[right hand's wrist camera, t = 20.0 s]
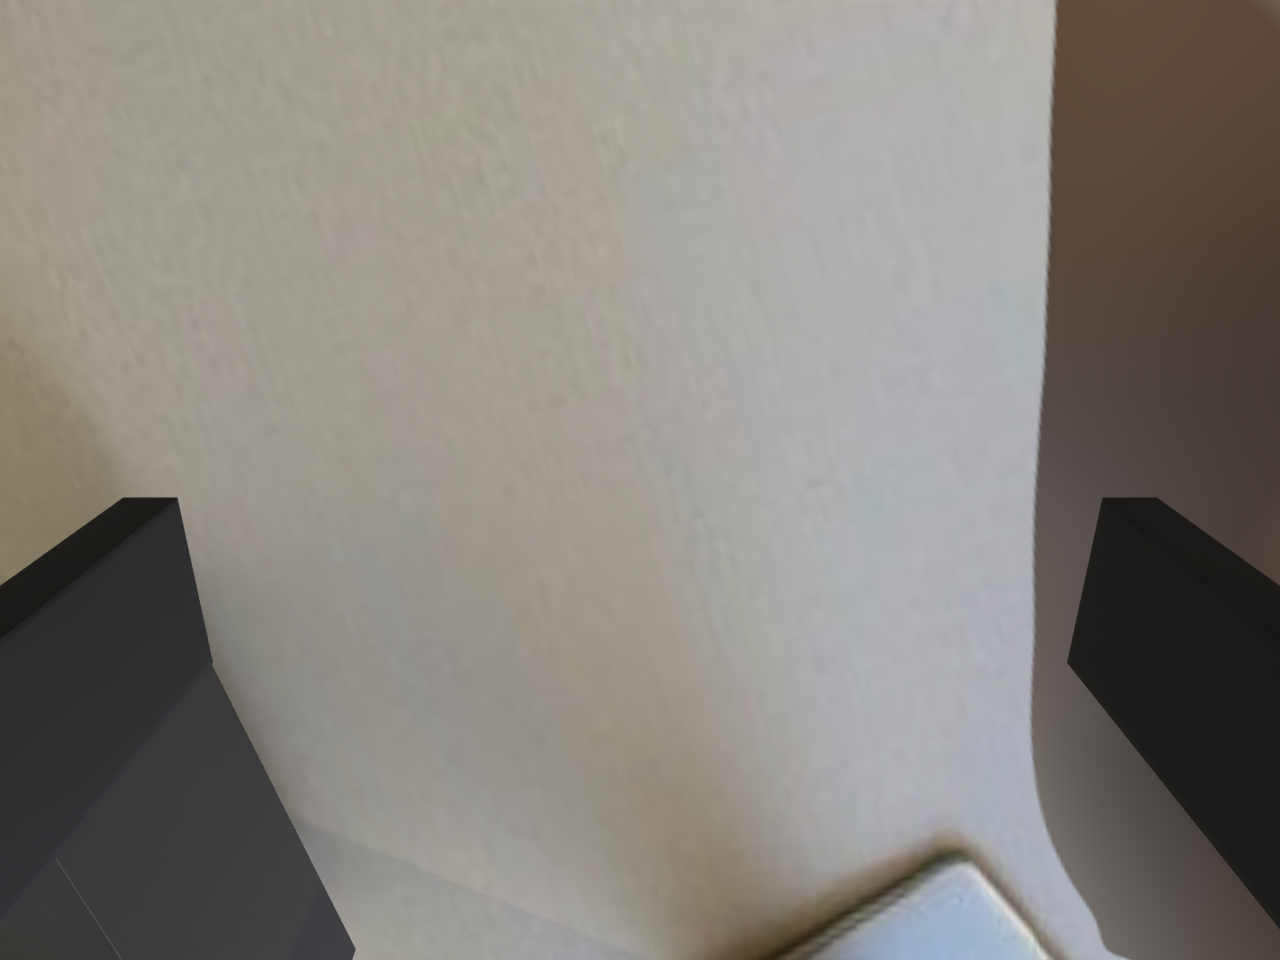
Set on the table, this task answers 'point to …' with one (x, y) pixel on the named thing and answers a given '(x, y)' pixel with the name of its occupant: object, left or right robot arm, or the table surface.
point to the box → (183, 860)
